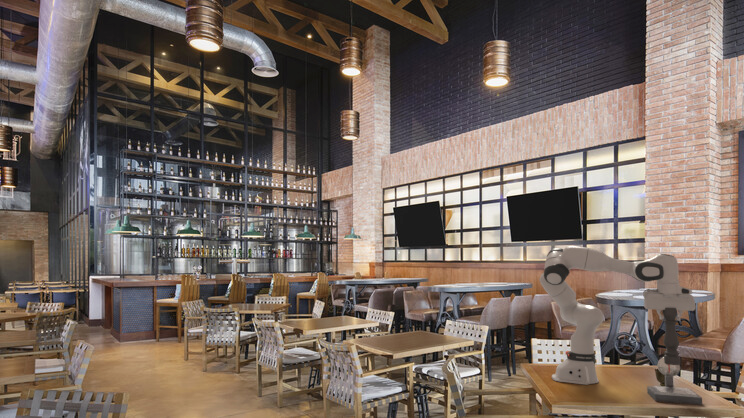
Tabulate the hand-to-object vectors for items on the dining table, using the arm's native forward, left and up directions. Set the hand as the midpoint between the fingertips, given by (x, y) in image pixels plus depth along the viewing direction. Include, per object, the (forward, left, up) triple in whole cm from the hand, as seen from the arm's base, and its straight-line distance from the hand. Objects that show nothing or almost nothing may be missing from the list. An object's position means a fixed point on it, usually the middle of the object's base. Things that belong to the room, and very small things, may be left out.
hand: (670, 320), depth 220 cm
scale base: (0, +2, -35) cm, 35 cm away
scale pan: (0, 0, -32) cm, 32 cm away
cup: (+2, +25, -35) cm, 43 cm away
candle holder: (0, 0, -20) cm, 20 cm away
